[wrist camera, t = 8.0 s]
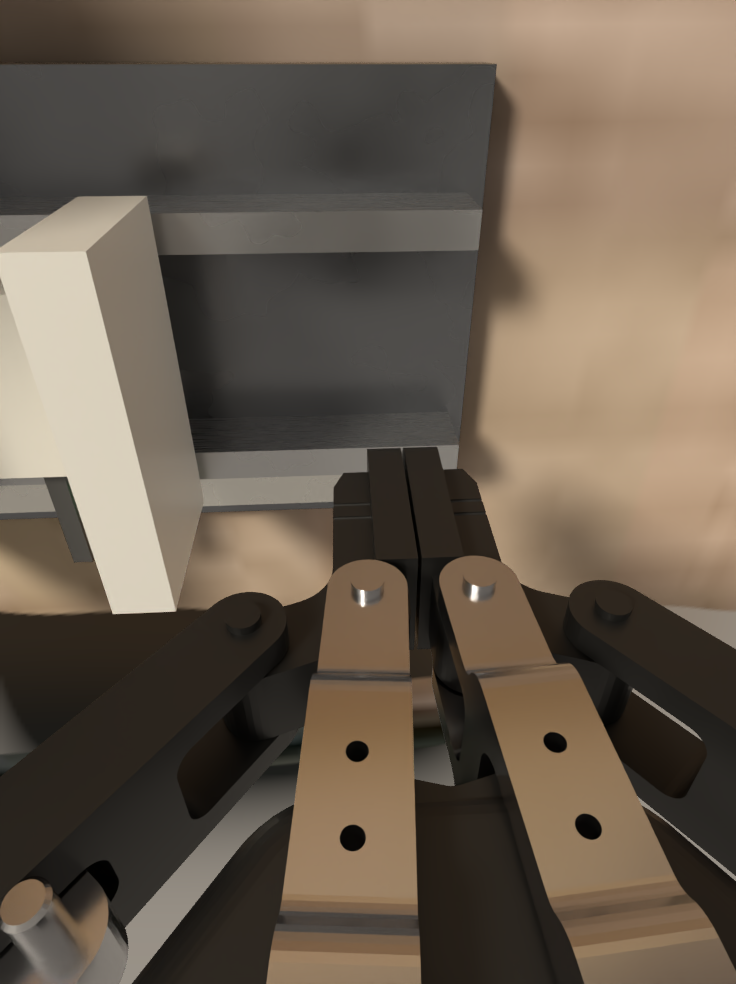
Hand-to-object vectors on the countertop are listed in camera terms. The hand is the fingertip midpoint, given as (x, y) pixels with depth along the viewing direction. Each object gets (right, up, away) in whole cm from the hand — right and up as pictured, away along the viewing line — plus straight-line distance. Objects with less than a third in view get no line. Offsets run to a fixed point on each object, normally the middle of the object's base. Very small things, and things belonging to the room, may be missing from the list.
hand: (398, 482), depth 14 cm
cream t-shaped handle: (-9, +4, +6) cm, 12 cm away
